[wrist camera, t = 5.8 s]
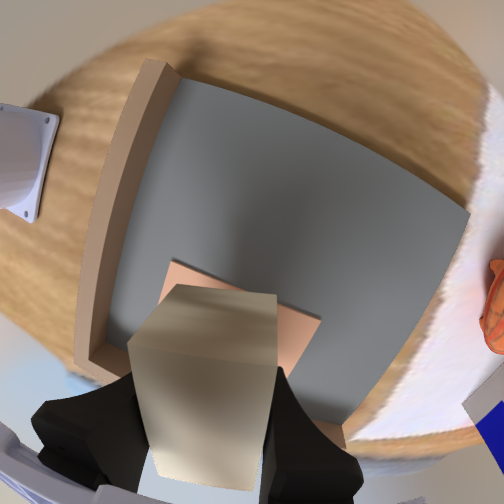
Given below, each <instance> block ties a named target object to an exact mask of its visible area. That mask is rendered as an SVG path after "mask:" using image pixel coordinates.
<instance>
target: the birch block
mask: <svg viewBox="0 0 504 504" xmlns="http://www.w3.org/2000/svg"><path fill="white" fill-rule="evenodd" d="M127 346H128V352H129V358H130V364H131V369H132V375H133V380H134V385H135V390H136V394H137V399H138V403H139V408H140V412H141V416H142V420H143V424H144V428H145V432H146V435H147V439H148V442H149V446H150V449H151V452H152V456H153V459H154V462H155V465H156V468H157V471H158V474H159V476H163V477H167V478H171V479H176V480H180V481H185V482H189V483H194V484H200V485H206V486H212V487H218V488H225V489H234V490H243V491H253V490H254V485H255V481H256V477H257V472H258V467H259V463H260V458H261V453H262V449H263V444H264V439H265V434H266V429H267V423H268V418H269V413H270V408H271V402H272V397H273V391H274V385H275V380H276V374H277V368H278V336H277V295H275V294H265V293H255V292H245V291H236V290H227V289H218V288H209V287H201V286H193V285H185V284H176V285H175V286H174V287H173V288H172V289H171V291H170V292H169V293H168V294H167V295H166V296H165V298H164V299H163V300H162V301H161V302H160V304H159V305H158V306H157V307H156V308H155V310H154V311H153V312H152V313H151V314H150V316H149V317H148V318H147V319H146V320H145V322H144V323H143V324H142V325H141V326H140V328H139V329H138V330H137V331H136V333H135V334H134V335H133V336H132V337H131V339H130V340H129V341H128V342H127Z"/></svg>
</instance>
